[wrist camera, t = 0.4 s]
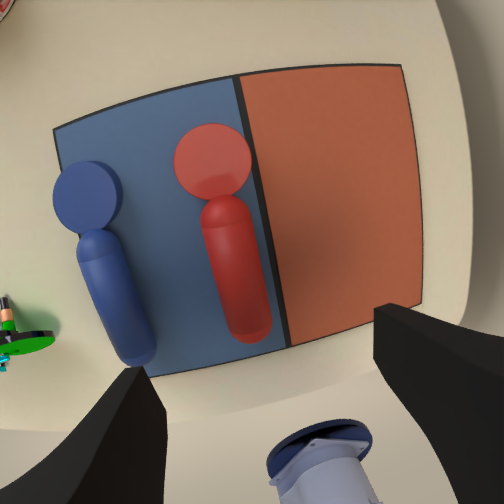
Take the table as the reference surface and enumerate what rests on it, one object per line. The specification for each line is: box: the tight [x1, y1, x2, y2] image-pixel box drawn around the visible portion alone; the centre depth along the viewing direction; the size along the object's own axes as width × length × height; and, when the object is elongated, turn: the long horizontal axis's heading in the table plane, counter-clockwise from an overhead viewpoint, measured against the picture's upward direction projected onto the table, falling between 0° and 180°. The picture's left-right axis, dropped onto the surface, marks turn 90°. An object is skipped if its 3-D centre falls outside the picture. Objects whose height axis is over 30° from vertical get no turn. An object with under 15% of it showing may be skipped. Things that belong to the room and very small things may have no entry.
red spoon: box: [173, 123, 272, 344], centre depth 15 cm, size 11×4×2 cm, turn 12°
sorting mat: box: [53, 63, 423, 378], centre depth 17 cm, size 16×20×1 cm
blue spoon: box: [53, 161, 157, 367], centre depth 15 cm, size 11×4×2 cm, turn 12°
